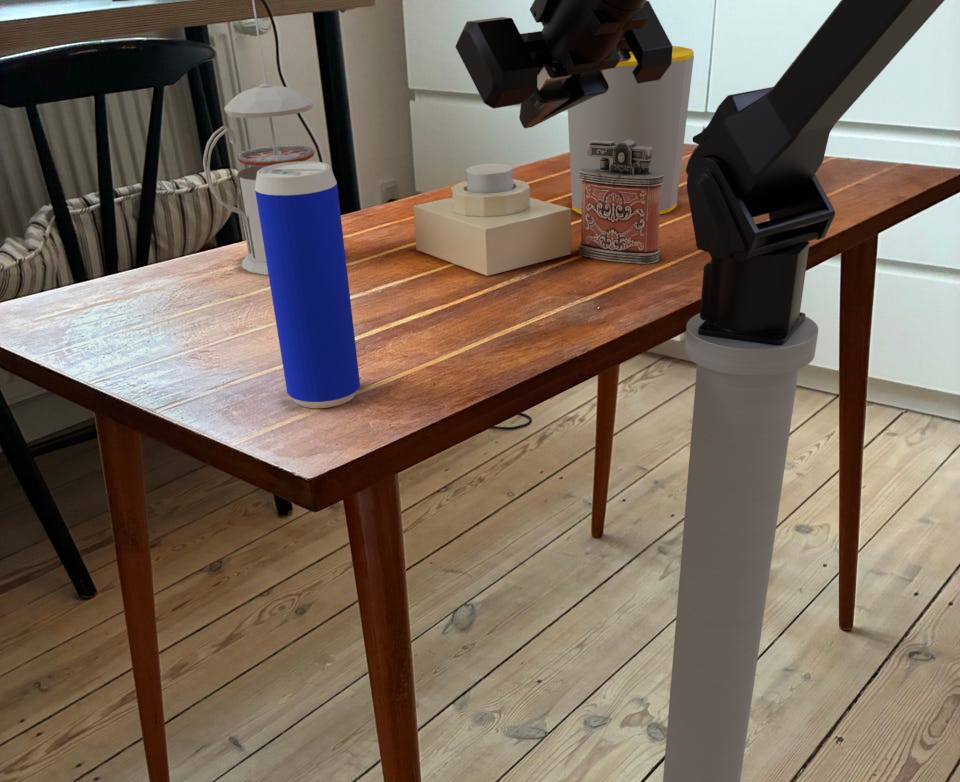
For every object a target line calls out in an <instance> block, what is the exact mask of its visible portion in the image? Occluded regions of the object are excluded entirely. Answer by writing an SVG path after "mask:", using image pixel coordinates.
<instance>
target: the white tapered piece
mask: <svg viewBox="0 0 960 782" xmlns="http://www.w3.org/2000/svg"><path fill="white" fill-rule="evenodd" d="M672 46H673V48H672V64H671V65H670V67H669V68H668V69H667V71H666V72H665V73H664V75H663V76H662V77H661V79H660V80H656V81H650V82H644V83H638V84H637V82H636V80H635V78H634V75H633V73H632V72H633V70H634V69H635V67H636V66H637V64H638V63H637V61H636V59H635V57H634V55H633V53H632V52H629V53H630V55H631V58H630V60H629V61H626V62H620V63H618V64H617V65H616V67H615V68H611V69H605V70H604V71H603V72H602V74H603V75H604V77H605V79H606V81H607V83H608V86H609V88H608V90H607V92H605V93H604V94H600V95H597V96H595V97H593V98H591V99H589V100H586V101H584V102H582V103H580V104H578V105H576V106H574V107H571V108H569V109H567V123H568V124H567V125H568V146H569V168H570V191H571V193H570V194H571V211H573V212H576V213H578V214H579V215H582V180H581V179H580V169H582V168H584V167H589V166H600V160H602V158H600V157H589V156H588V144H589V143H590V141H592V140H599V141H613V142H615V144H619V143H621V142H623V141H626V140H633V141H635V143H636V145H637V146H649V147H652V159H651V163H650V166H649V170H653V171H660V172H663V173H664V181H663V184H661V199H660V215H663V214H667V213H670V212H672V211H673V210H674V209H675V208H677V205H678V196H679V187H680V179H681V170H682V162H683V152H684V144H685V136H686V126H687V121H688V120H687V118H688V110H689V101H690V93H691V84H692V77H693V66H694V59H695V56H694V54H695V52H694V50H693V48H689V47H684V46H677V45H672ZM609 160H610V165H612V160H613V159H612V158H609ZM639 163H640V161H639Z"/></svg>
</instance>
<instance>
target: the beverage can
mask: <svg viewBox="0 0 960 782" xmlns="http://www.w3.org/2000/svg"><path fill="white" fill-rule="evenodd" d="M255 180H256V184H255V193H256V199H257V205H258V212H259V218H260V224H261V231H262V237H263V243H264V250H265V256H266V262H267V268H268V275H267V276H268V280H269V287H270V293H271V299H272V307H273V312H274V318H275V325H276V331H277V338H278V344H279V349H280V356H281V362H282V369H283V375H284V382H285V387H286V393H287V395H288V396H289V397H290V399H291V400H292V401H293V402H294V403H296V405H298V406H300V407H304V408H309V409H326V408H334V407H338V406H341V405H344V404H346V403H348V402H350V401H351V400H353V398H354V397H355V396H356V394H358V391H359V389H360V387H361V380H360V372H359V364H358V354H357V353H358V352H357V347H356V346H357V344H356V337H355V336H356V335H355V329H354V321H353V320H354V319H353V318H354V317H353V310H352V302H351V301H352V300H351V293H350V284H349V277H348V276H349V275H348V267H347V259H346V258H347V257H346V249H345V242H344V241H345V240H344V233H343V224H342V215H341V214H342V213H341V207H340V198H339V197H340V196H339V189H338V182H337V179H336V177H335V175H334V172H333V170H332V167H331V165H330V164H329V163H325V162H323V161H312V160H311V161H310V160H306V161H298V162H287V163H280V164H274V165H270V166H267V167H264V168H262V169H260V170H258V172H257V177H256V179H255Z"/></svg>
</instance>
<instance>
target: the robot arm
mask: <svg viewBox="0 0 960 782" xmlns="http://www.w3.org/2000/svg"><path fill="white" fill-rule="evenodd" d="M945 1H946V0H840V1H839V3H838V4H837V5H836V6H835V7H834V9H833V10H832V11H831V13H830V14H829V15H828V17H827V18H826V19H825V20H824V22H823V23H822V24H821V26H820V27H818V30H817V31H815V33H814V34H813V36H812V37H811V38H810V40H809V41H808V42H807V43H806V44H805V46H804V47H803V49H802V50H800V52H799V54H797V56H796V57H795V59H794V60H793V61H792V63H791V64H790V65H789V66H788V67H787V69H786V70H785V71H784V73H783V74H782V75H781V77H780V78H779V79H778V80H777V82H776V83H775V84H774V86H771V87H764V88H760V89H753V90H750V91H749V90H748V91H743V92H738V93H733V94H728V95H726V97H725V98H724V99H723V100H722V101H721V102H720V104H718V106H717V108H716V110H715V112H714V113H713V116H712V117H711V118H710V119H711V120H710V121H709V123H708V125H706V127H705V128H704V129H703V130H702V131H701V132H699V133H696V134H695V135H694V136H693V137H692V142H693V144H696V145H697V146H696V147H695V148H694V149H693V151H692V152H691V155H690V156H689V158H688V161H687V164H686V167H685V173H686V175H687V178H686V191H687V198H688V204H689V210H690V215H691V220H692V226H693V232H694V238H695V244H696V248H697V249H698V250H699V251H703V252H705V253H708V254H709V256H710V257H711V259H710V260H709V261H707V263H706V264H705V265H703V270H702V271H703V272H702V273H703V274H702V285H701V299H700V311H699V313H700V318H701V319H702V320H706V321H705V322H704V323H703V324H701V325H700V326H699V327H698V334H699V335H703V336H710V337H717V338H725V339H732V340H739V341H746V342H754V343H761V344H768V345H776V346H780V345H784V344H785V343H786V342H787V340H788V339H789V338H790V337H791V336H792V335H793V333H794V332H795V331H796V330H797V329H798V328H799V326H800V325H801V324H802V323H803V322H804V320H805V316H806V313H805V312H801V308H802V301H803V300H802V299H803V293H804V286H805V278H806V273H807V272H806V271H807V264H808V259H809V257H808V256H809V249H810V242H812V241H815V240H816V241H819V240H822V239H824V238H826V235H827V234H828V231H829V229H830V227H831V225H832V223H833V220H834V219H835V216H836V211H835V208H834V206H833V204H832V202H831V201H830V199H829V196H828V195H827V194H826V192H825V190H824V188H823V186H822V185H821V182H820V180H819V179H818V177H817V175H816V173H817V172H818V170H819V169H820V167H821V166H822V164H823V163H824V159H825V154H826V150H827V147H828V141H829V137H830V133H831V132H832V130H833V128H834V127H835V125H836V124H837V123H838V122H839V121H840V119H841V118H842V117H843V116H844V115H845V114H846V113H847V112H848V110H849V109H851V107H852V106H853V105H854V103H856V101H857V100H858V99H859V98H860V97H861V96H862V94H863V93H864V92H865V91H866V90H867V89H868V88H869V87H870V86H871V84H872V83H873V82H874V81H875V80H876V78H878V76H879V75H880V74H881V73H882V72H883V71H884V70H885V68H886V67H888V65H889V64H890V63H891V62H892V60H893V59H894V58H895V57H896V56H897V55H898V54H899V53H900V52H901V50H903V48H904V47H905V46H906V45H907V44H908V42H909V41H910V40H912V38H913V37H914V36H915V35H916V33H918V31H919V30H920V29H921V28H922V27H923V26H924V24H925V23H926V22H928V20H929V19H930V18H931V16H932V15H933V14H934V13H935V12H936V11H937V10H938V9H939V8H940V7H941V5H942V4H943V3H944V2H945ZM529 11H530V14H531V16H532V18H533V19H534V22H535V23H538V24H539V23H541V25H542V29H541V30H539V31H538V30H537V31H532V32H524V33H520V31H519V28H518V26H517V25H516V23H515V21H514V19H513V17H506V16H505V17H504V16H500V17H491V18H484V19H483V18H482V19H475V20H467V21H466V22H465V25H464V26H463V28H462V31H461V33H460V35H459V36H458V39H457V41H456V44H455V49H456V51H457V53H458V55H459V57H460V59H461V61H462V63H463V64H464V67H465V68H466V71H467V73H468V75H469V76H470V78H471V81H472V82H473V84H474V86H475V88H476V90H477V92H478V94H479V96H480V98H481V100H482V101H483V104H485V105H486V106H488V107H490V108H491V109H499V108H505V107H511V106H517V105H520V109H519V118H518V119H519V121H520V123H521V125H522V127H523V129H529V128H534V127H535V126H537V125H540V124H542V123H544V122H545V121H547V120H549V119H551V118H553V117H556V116H557V115H560V114H561V113H563V112H566V111H568V109H569V108H571V107H574V106H576V105H578V104H580V103H582V102H584V101H586V100H589V99H591V98H593V97H595V96H597V95H600V94H604V93H605V92H607V90H608V88H609V86H608V83H607V81H606V79H605V77H604V75H603V74H602V72H603V71H604V70H605V69H611V68H615V67H616V65H617V64H618V63H620V62H626V61H629V60H630V58H631V55H630V53H629V52H632V53H633V55H634V57H635V59H636V61H637V63H638V64H637V66H636V67H635V69H634V70H633V72H632V73H633V75H634V78H635V80H636V82H637V84H638V83H644V82H650V81H656V80H660V79H661V77H662V76H663V75H664V73H665V72H666V71H667V69H668V68H669V67H670V65H671V64H672V48H673V46H674V45H673V44H672V42H671V41H670V39H669V36H668V34H667V33H666V31H665V29H664V27H663V25H662V23H661V21H660V19H659V17H658V16H657V14H656V12H655V10H654V8H653V6H652V3H651V2H650V1H649V0H533V2H532V4H531V6H530V8H529ZM763 215H768V218H769V219H768V220H765V221H761V222H757V223H756V222H755V220H754V218H756V217H760V216H763Z"/></svg>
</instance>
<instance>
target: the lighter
mask: <svg viewBox="0 0 960 782" xmlns="http://www.w3.org/2000/svg"><path fill="white" fill-rule="evenodd" d="M588 156H589V157H600V158H602V160H600V166H589V167H584V168H582V169H580V179H581V180H582V214H581V218H580V219H581V226H580V227H581V230H580V231H581V232H580V242H579V243H578V254H579V255H580V256H581V257H587V258H591V259H595V260H601V261H610V262H616V263H618V262H619V263H629V264H641V265H643V264H645V265H647V264H653V263H657V262H659V260H660V248H659V235H660V234H659V232H660V215H661V214H660V199H661V184H663V181H664V173H663V172H660V171H653V170H649V166H650V163H651V159H652V147H649V146H637V145H636V143H635V141H633V140H626V141H623V142H621V143H619V144H615V142H613V141H599V140H592V141H590V143H589V144H588ZM609 158H612V159H613V160H612V165H610V160H609ZM639 161H640V163H639Z"/></svg>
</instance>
